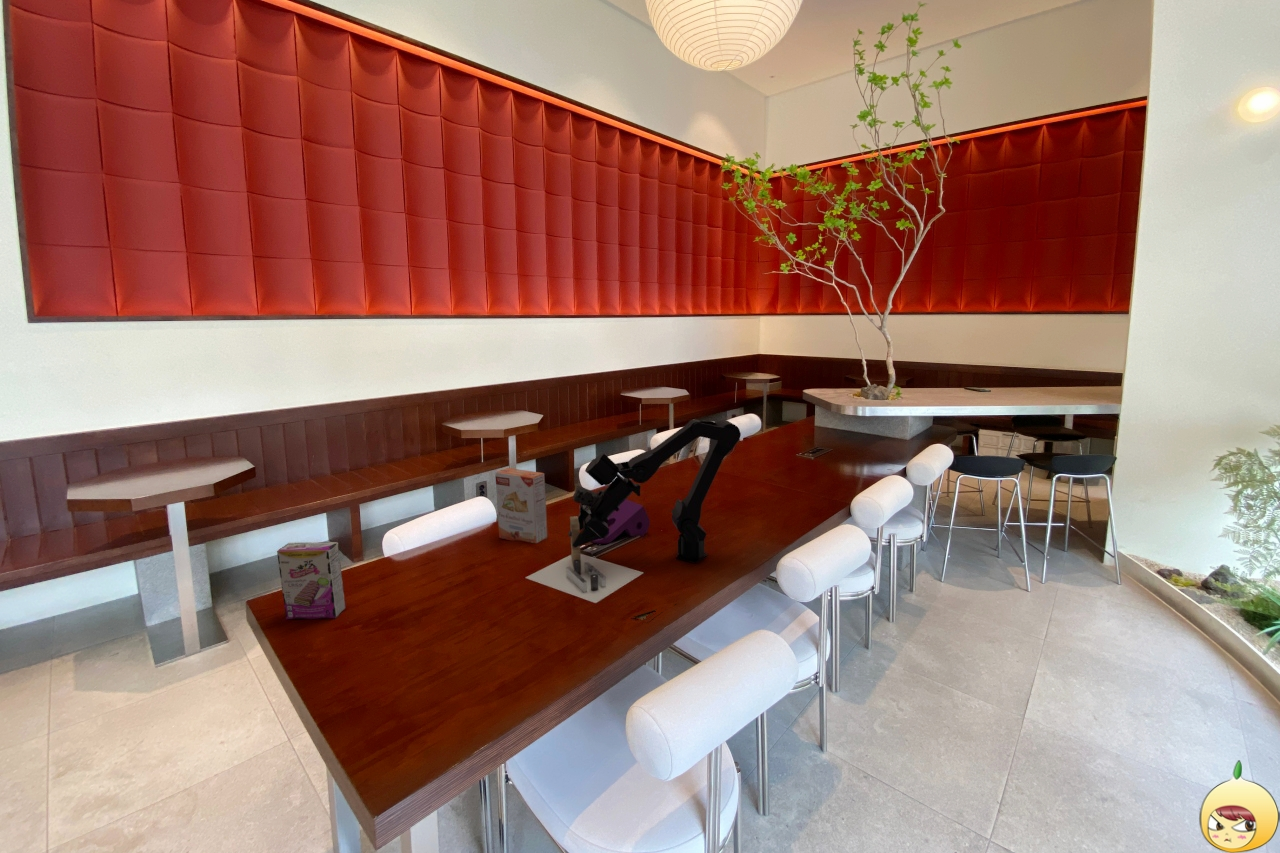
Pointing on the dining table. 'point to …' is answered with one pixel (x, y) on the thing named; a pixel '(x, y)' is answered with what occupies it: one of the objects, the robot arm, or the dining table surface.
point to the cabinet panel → (585, 577)
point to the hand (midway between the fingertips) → (572, 539)
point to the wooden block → (574, 534)
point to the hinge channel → (594, 574)
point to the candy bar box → (311, 580)
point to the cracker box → (521, 505)
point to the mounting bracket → (626, 521)
